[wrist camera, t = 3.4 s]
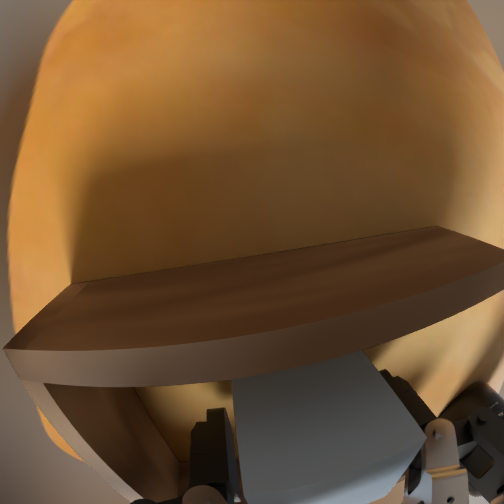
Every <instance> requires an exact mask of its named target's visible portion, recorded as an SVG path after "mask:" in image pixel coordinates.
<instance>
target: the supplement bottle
mask: <svg viewBox="0 0 504 504" xmlns="http://www.w3.org/2000/svg"><path fill="white" fill-rule="evenodd" d="M478 407H486V408H489V409H490V410H492V411H493V412H494V413H495V414H496V415H498V416H499V417H500V418H501V419H502V420H504V400H503V398H502V397H500V395H499V394H498V393H497V392H496V391H495V390H494V389H492V388H491V387H490V386H489V385H488V384H487V383H485V382H478V383H475V384H474V385H472V386H470V387H469V388H468V389H466V390H465V391H464V392H463V393H461V394H460V395H459V396H458V397H457V398H456V399H455V400H454V401H453V402H452V403H451V404H450V405H449V406H448V407H447V408H446V409H445V410H444V412H443V413H442V414H441V415H440V417H439V418H438V419H446V420H449V421H450V422H454V421H458V420H461V419H464V418H468V417H469V416H470V414H471V413H472V411H473V410H474V409H476V408H478ZM478 446H479V447H480V448H482V447H481V446H480V445H478ZM482 449H483V448H482ZM483 450H484V449H483ZM484 451H485V450H484ZM485 452H486V451H485ZM486 453H487V452H486ZM487 454H488V453H487ZM488 455H489V454H488ZM489 456H490V455H489ZM490 457H491V456H490ZM491 458H492V457H491ZM492 459H493V458H492ZM468 490H469V494H470V495H472V496H475V497H479V496H482V495H481V494H480V493H479V492H478V491H477V489H476V488H475V487H474V486H473V485H472V484H471V483H470V482H469V481H468Z"/></svg>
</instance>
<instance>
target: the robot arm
mask: <svg viewBox="0 0 504 504" xmlns="http://www.w3.org/2000/svg"><path fill="white" fill-rule="evenodd" d="M379 372H380V374H381V375H382V376H383V378H384V379H385V380H386V382H387V383H388V384H389V386H390V387H391V388H392V390H393V391H394V392H395V394H396V395H397V396H398V398H399V399H400V401H401V402H402V403H403V405H404V406H405V407H406V409H407V410H408V411H409V413H410V414H411V415H412V417H413V418H414V420H415V421H416V422H417V424H418V425H419V427H420V428H421V429H422V431H423V432H424V433H425V435H426V436H427V439H426V440H425V442H424V443H423V445H422V447H421V448H420V450H419V451H418V453H417V454H416V456H415V458H414V459H413V460H412V462H411V463H410V465H409V466H408V468H407V469H406V472H405V489H404V498H403V501H402V503H401V504H469V490H468V481H469V482H470V483H471V484H472V485H473V486H474V487H475V488H476V489H477V491H478V492H479V493H480V494H481V495H482V496H483V497H484V498H485V499H486V500H487V501H488V502H489V503H490V504H504V420H502V419H501V418H500V417H499V416H498V415H496V414H495V413H494V412H493V411H492V410H490V409H489V408H486V407H478V408H476V409H474V410H473V411H472V413H471V414H470V416H469V417H468V418H464V419H461V420H458V421H454V422H450V421H449V420H446V419H438V418H437V417H436V416H435V415H434V414H433V413H432V411H431V410H430V409H429V408H428V406H427V405H426V404H425V403H424V401H423V400H422V399H421V398H420V397H419V396H418V394H417V393H416V392H415V390H413V388H412V387H411V386H410V384H409V383H408V382H407V381H406V380H404V379H402V378H400V377H399V376H396V377H392V376H391V374H390V373H389V372H388V371H387V370H386V369H384V370H381V371H379ZM478 445H480V446H481V447H482V448H483V449H484V450H485V451H486V452H487V453H488V454H489V455H490V456H491V457H492V458H493V459H492V458H491V457H490V456H489V455H488V454H487V453H486V452H485V451H484V450H483V449H482V448H480V447H479V446H478ZM190 451H191V453H190V479H189V486H188V488H187V490H186V491H185V493H184V494H182V495H181V496H179V497H177V498H174V499H171V500H166V501H162V502H157V503H156V502H154V501H152V500H150V499H137V500H135V501H133V502H131V504H235V502H241V497H240V489H239V481H238V472H237V463H236V454H235V444H234V436H233V431H232V427H231V424H230V421H229V418H228V415H227V412H226V409H225V408H216V409H207V422H196V424H195V426H194V428H193V430H192V431H191V445H190Z"/></svg>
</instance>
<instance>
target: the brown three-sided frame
mask: <svg viewBox="0 0 504 504" xmlns="http://www.w3.org/2000/svg"><path fill="white" fill-rule="evenodd" d="M502 290H504V249H501V248H498V247H496V246H493V245H491V244H488V243H485V242H483V241H480V240H477V239H474V238H472V237H469V236H466V235H463V234H460V233H457V232H454V231H451V230H448V229H445V228H442V227H439V226H435V227H429V228H423V229H417V230H411V231H405V232H399V233H393V234H387V235H381V236H375V237H369V238H362V239H356V240H350V241H344V242H338V243H332V244H326V245H319V246H313V247H307V248H301V249H295V250H288V251H282V252H276V253H270V254H263V255H257V256H251V257H244V258H238V259H232V260H225V261H219V262H213V263H206V264H200V265H193V266H187V267H181V268H174V269H168V270H161V271H155V272H148V273H142V274H135V275H129V276H122V277H116V278H109V279H102V280H96V281H89V282H82V283H76V284H70V285H69V286H68V287H67V288H65V289H64V290H63V291H62V292H61V293H60V294H59V295H57V296H56V297H55V298H54V299H53V300H52V301H51V302H50V303H49V304H47V305H46V306H45V307H44V308H43V309H42V310H41V311H40V312H39V313H38V314H37V315H36V316H35V317H33V318H32V319H31V320H30V321H29V322H28V323H27V324H26V325H25V326H24V327H23V328H22V329H21V330H20V331H19V332H18V333H17V334H16V335H15V336H14V337H13V338H12V339H11V340H10V341H9V342H8V343H7V344H6V345H5V346H4V348H3V350H4V352H5V354H6V356H7V358H8V360H9V362H10V363H11V365H12V367H13V369H14V370H15V372H16V374H17V376H18V377H19V379H20V380H21V382H22V384H23V385H24V387H25V388H26V390H27V391H28V393H29V394H30V396H31V397H32V399H33V400H34V402H35V403H36V405H37V406H38V407H39V409H40V410H41V412H42V413H43V414H44V416H45V417H46V418H47V419H48V421H49V422H50V423H51V425H52V426H53V427H54V428H55V429H56V431H57V432H58V433H59V434H60V435H61V437H62V438H63V439H64V440H65V441H66V442H67V444H68V445H69V446H70V447H71V448H72V449H73V450H74V451H75V452H76V453H77V454H78V455H79V456H80V457H81V459H82V460H83V461H84V462H85V463H86V464H87V465H88V466H90V467H91V468H92V469H93V470H94V471H95V472H96V473H97V474H98V475H99V476H100V477H101V478H102V479H103V480H105V481H106V482H107V483H108V484H109V485H110V486H112V487H113V488H114V489H115V490H116V491H118V492H119V493H120V494H121V495H123V496H124V497H125V498H126V499H128V500H129V501H130V502H133V501H135V500H137V499H150V500H152V501H154V502H156V503H157V502H162V501H166V500H171V499H174V498H177V497H179V496H181V495H182V494H184V493H185V491H186V490H187V488H188V486H189V479H190V462H179V461H178V459H177V458H176V457H175V455H174V454H173V452H172V451H171V449H170V448H169V446H168V445H167V443H166V442H165V440H164V439H163V437H162V436H161V434H160V432H159V431H158V429H157V428H156V426H155V424H154V423H153V421H152V419H151V418H150V416H149V414H148V412H147V411H146V409H145V407H144V405H143V404H142V402H141V400H140V398H139V396H138V394H137V392H136V391H135V389H134V387H152V386H171V385H184V384H195V383H205V382H214V381H222V380H229V379H236V378H243V377H249V376H255V375H261V374H266V373H272V372H277V371H282V370H287V369H291V368H296V367H300V366H305V365H309V364H313V363H317V362H321V361H325V360H329V359H333V358H336V357H340V356H344V355H347V354H351V353H354V352H357V351H361V350H364V349H367V348H370V347H373V346H376V345H379V344H382V343H385V342H388V341H391V340H394V339H397V338H399V337H402V336H405V335H407V334H410V333H413V332H415V331H418V330H420V329H423V328H425V327H428V326H430V325H432V324H435V323H437V322H439V321H442V320H444V319H446V318H449V317H451V316H453V315H455V314H457V313H459V312H462V311H464V310H466V309H468V308H470V307H472V306H474V305H476V304H478V303H480V302H482V301H484V300H485V299H487V298H489V297H491V296H493V295H495V294H496V293H498V292H500V291H502ZM236 463H237V472H238V481H239V489H240V497H241V502H235V504H248V503H247V501H246V499H245V497H244V493H243V486H242V478H241V470H240V461H239V458H238V459H236ZM405 472H406V471H405ZM405 472H404V473H403V475H402V476H401V477H400V479H399V480H398V481H397V483H398V482H400V481H402V480H404V479H405Z"/></svg>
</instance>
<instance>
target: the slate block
mask: <svg viewBox="0 0 504 504" xmlns="http://www.w3.org/2000/svg"><path fill="white" fill-rule="evenodd" d="M231 384H232V395H233V406H234V416H235V426H236V435H237V444H238V453H239V461H240V470H241V478H242V486H243V493H244V497H245V499H246V501H247V503H248V504H368V503H370V502H373V501H375V500H378V499H380V498H382V497H384V496H386V495H387V494H388V493H389V491H390V490H391V489H392V488H393V486H394V485H395V484H396V483H397V481H398V480H399V479H400V477H401V476H402V475H403V473H404V472H405V471H406V469H407V468H408V466H409V465H410V463H411V462H412V460H413V459H414V458H415V456H416V454H417V453H418V451H419V450H420V448H421V447H422V445H423V443H424V442H425V440H426V439H427V436H426V435H425V433H424V432H423V431H422V429H421V428H420V427H419V425H418V424H417V422H416V421H415V420H414V418H413V417H412V415H411V414H410V413H409V411H408V410H407V409H406V407H405V406H404V405H403V403H402V402H401V401H400V399H399V398H398V396H397V395H396V394H395V392H394V391H393V390H392V388H391V387H390V386H389V384H388V383H387V382H386V380H385V379H384V378H383V376H382V375H381V374H380V372H379V371H378V370H377V369H376V367H375V366H374V365H373V363H372V362H371V361H370V359H369V358H368V357H367V355H366V354H365V353H364V352H363V350H361V351H357V352H354V353H351V354H347V355H344V356H340V357H336V358H333V359H329V360H325V361H321V362H317V363H313V364H309V365H305V366H300V367H296V368H291V369H287V370H282V371H277V372H272V373H266V374H261V375H255V376H249V377H243V378H236V379H231Z"/></svg>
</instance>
